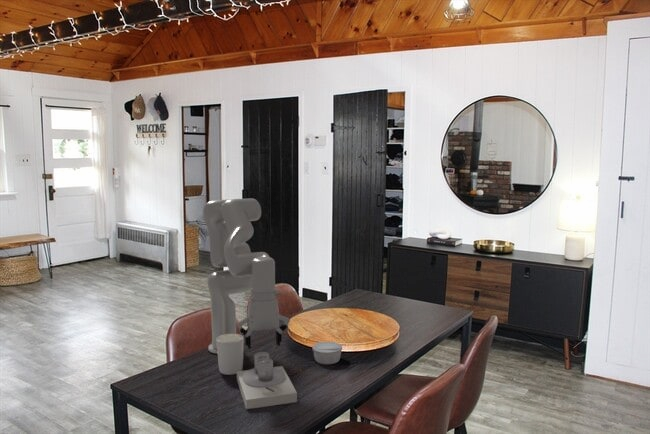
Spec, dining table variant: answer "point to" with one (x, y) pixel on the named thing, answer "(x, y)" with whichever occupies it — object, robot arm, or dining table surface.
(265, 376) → the cylinder
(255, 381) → the scale
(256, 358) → the disc
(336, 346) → the ramekin
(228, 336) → the candle holder
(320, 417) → the dining table surface
